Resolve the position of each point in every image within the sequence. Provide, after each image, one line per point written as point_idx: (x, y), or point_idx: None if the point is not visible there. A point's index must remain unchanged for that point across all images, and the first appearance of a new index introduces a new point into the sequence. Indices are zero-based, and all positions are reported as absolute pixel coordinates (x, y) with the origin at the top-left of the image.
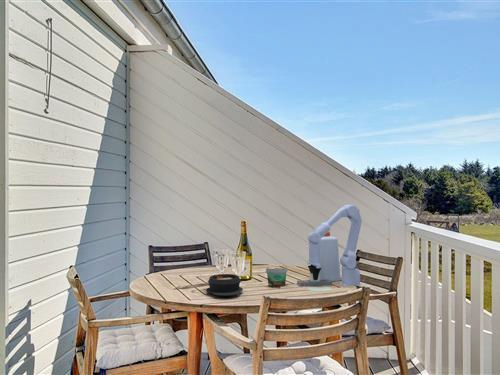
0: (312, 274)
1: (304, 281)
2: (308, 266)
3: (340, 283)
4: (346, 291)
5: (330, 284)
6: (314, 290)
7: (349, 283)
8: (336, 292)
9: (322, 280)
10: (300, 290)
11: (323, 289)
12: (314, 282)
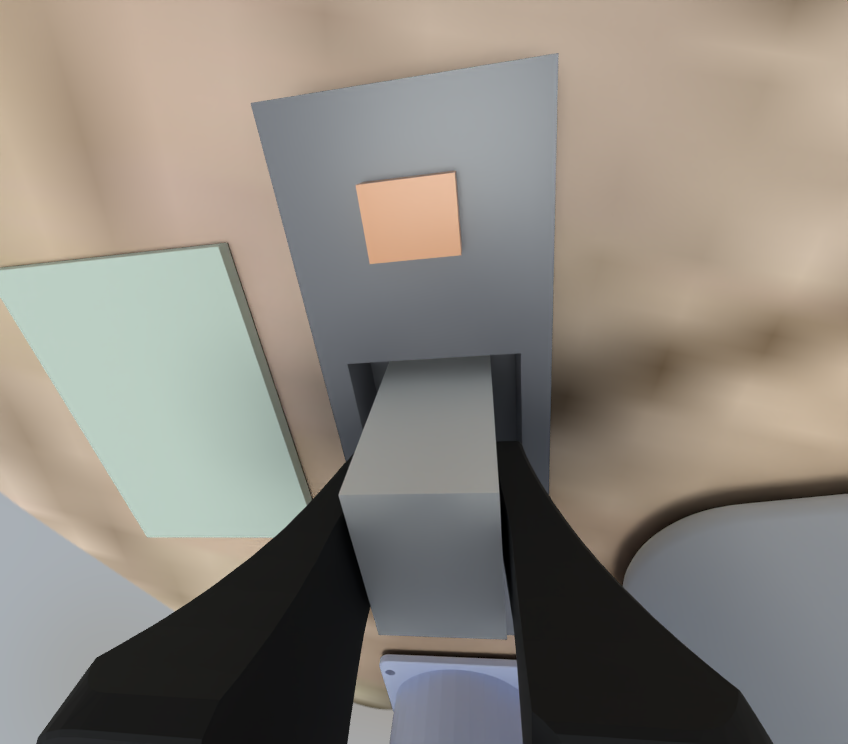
0: (345, 514)
1: (373, 246)
2: (554, 728)
3: (487, 664)
4: (173, 605)
5: None
6: (40, 321)
7: (394, 712)
8: (101, 528)
9: None
10: (41, 73)
11: (144, 446)
12: (338, 423)
